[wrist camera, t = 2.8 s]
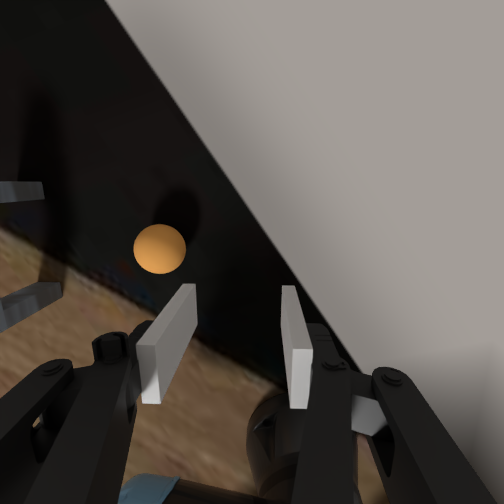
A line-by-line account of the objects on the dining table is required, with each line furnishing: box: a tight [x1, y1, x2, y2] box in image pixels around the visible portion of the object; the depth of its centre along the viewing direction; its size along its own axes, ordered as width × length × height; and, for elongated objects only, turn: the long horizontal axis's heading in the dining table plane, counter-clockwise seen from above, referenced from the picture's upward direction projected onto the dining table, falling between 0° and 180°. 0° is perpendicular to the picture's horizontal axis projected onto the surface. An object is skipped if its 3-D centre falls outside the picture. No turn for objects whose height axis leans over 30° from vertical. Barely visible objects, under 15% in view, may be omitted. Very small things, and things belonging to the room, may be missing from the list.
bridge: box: [0, 182, 62, 333], centre depth 30 cm, size 3×14×9 cm, turn 0°
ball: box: [134, 224, 186, 274], centre depth 31 cm, size 6×6×6 cm
